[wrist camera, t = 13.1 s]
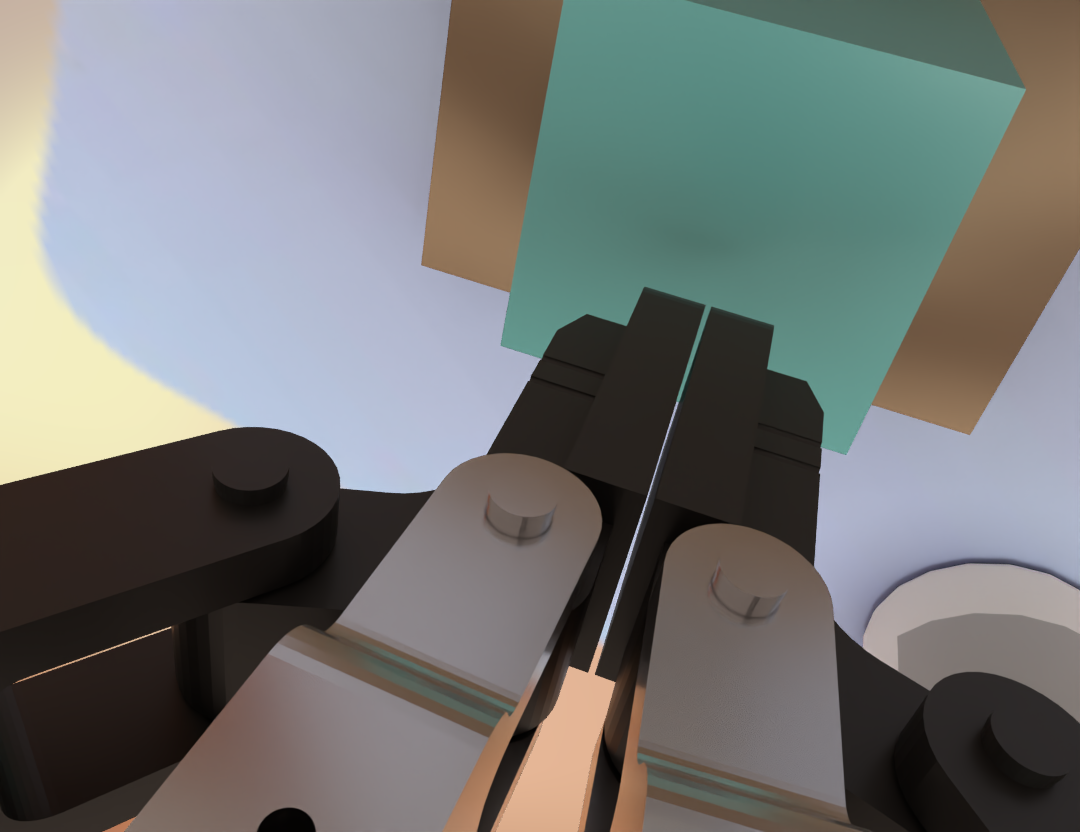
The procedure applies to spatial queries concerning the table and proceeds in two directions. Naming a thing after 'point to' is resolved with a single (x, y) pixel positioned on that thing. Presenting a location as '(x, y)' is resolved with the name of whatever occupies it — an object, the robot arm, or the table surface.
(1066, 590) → the spray bottle
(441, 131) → the board
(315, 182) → the table surface
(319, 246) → the table surface
